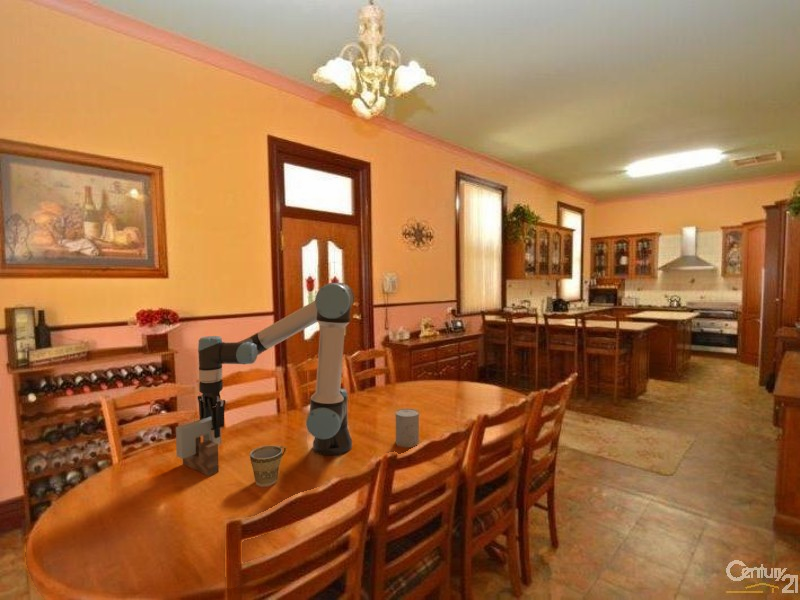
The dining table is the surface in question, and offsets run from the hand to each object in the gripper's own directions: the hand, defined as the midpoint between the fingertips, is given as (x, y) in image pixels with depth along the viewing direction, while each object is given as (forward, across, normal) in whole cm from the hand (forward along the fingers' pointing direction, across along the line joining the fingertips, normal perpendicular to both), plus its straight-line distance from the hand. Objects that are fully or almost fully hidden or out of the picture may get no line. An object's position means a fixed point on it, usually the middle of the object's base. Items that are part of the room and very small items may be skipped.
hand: (212, 444), depth 143 cm
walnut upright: (+7, 0, +5) cm, 8 cm away
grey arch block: (0, 0, +5) cm, 5 cm away
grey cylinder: (+7, -49, -53) cm, 73 cm away
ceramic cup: (+7, -27, -3) cm, 28 cm away
